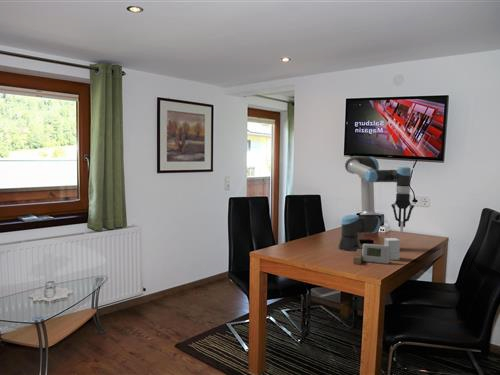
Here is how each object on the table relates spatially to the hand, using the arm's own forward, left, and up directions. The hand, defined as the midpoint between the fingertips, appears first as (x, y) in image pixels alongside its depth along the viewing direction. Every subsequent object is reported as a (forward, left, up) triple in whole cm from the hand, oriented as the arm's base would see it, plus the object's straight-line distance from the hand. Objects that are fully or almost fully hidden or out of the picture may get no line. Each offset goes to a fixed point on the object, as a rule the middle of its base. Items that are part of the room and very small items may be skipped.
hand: (401, 232), depth 237 cm
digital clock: (+1, -14, -20) cm, 24 cm away
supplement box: (-12, -5, -20) cm, 23 cm away
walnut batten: (-2, -24, -19) cm, 31 cm away
